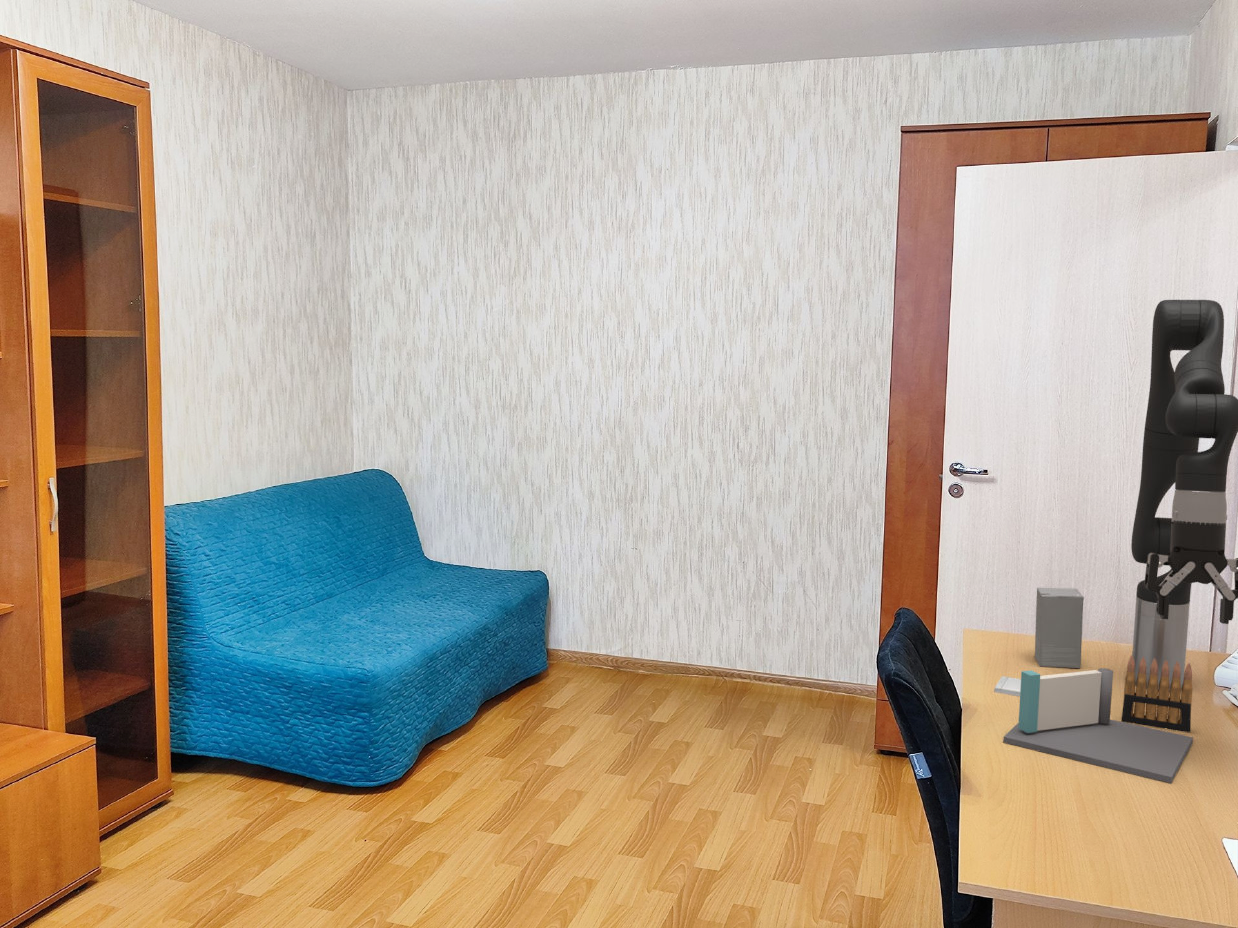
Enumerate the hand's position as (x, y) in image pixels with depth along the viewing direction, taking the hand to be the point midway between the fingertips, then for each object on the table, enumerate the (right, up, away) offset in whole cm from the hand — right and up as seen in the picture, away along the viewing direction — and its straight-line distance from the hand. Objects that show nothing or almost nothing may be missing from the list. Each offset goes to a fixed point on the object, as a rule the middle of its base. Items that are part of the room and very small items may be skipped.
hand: (1193, 620), depth 159 cm
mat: (-11, -22, +9) cm, 26 cm away
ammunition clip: (+3, -21, +17) cm, 27 cm away
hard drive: (-12, -20, +33) cm, 41 cm away
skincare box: (0, -17, +50) cm, 53 cm away
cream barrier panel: (-15, -20, +12) cm, 28 cm away
